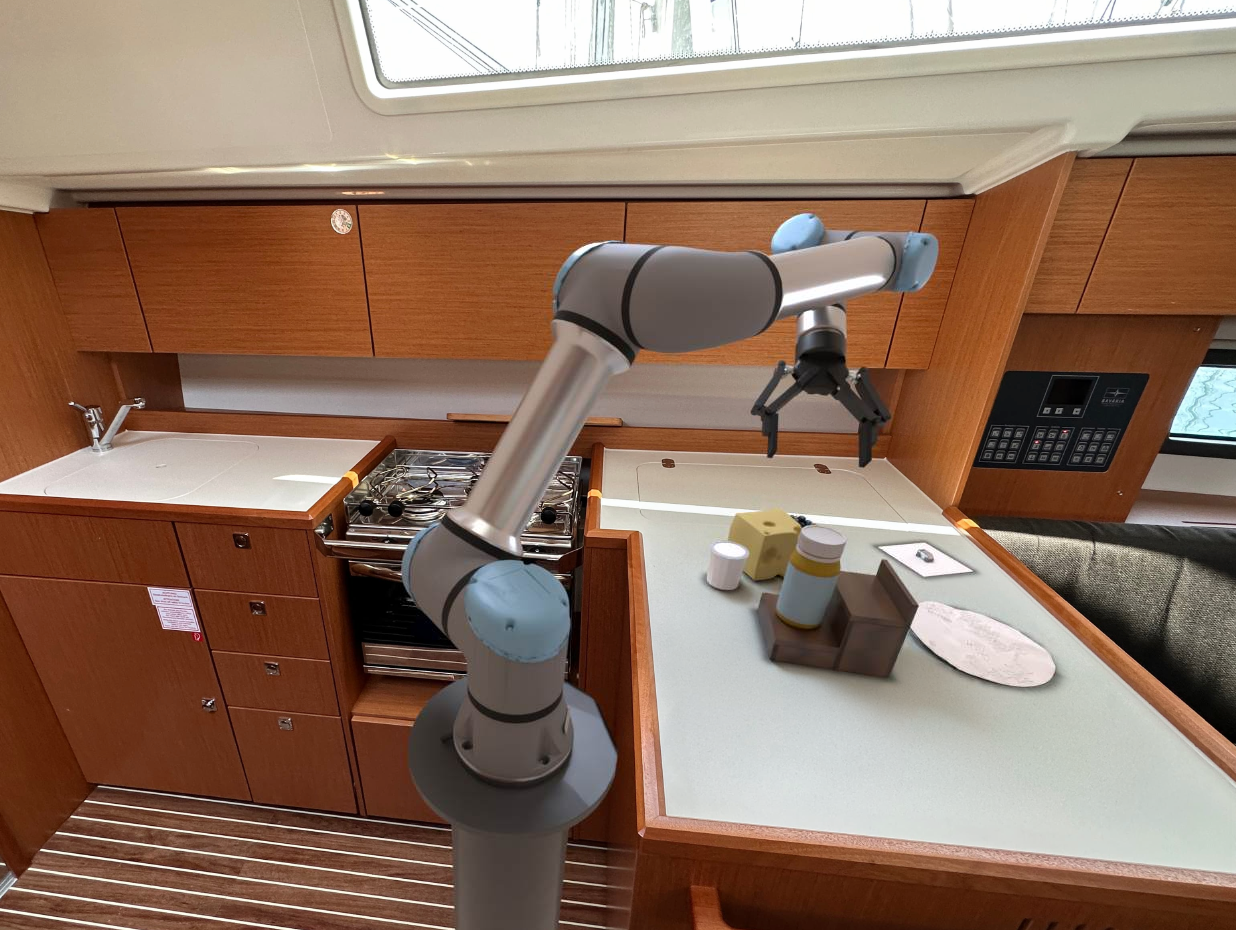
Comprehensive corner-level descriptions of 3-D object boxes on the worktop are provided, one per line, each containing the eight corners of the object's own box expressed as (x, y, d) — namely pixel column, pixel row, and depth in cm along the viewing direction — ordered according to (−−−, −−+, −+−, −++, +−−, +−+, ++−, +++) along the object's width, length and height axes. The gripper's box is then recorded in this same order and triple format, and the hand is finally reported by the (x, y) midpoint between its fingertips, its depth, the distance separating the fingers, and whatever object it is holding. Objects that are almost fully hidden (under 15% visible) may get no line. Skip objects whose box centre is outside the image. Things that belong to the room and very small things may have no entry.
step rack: (769, 659, 89) (790, 588, 83) (757, 611, 101) (774, 545, 95) (889, 677, 87) (919, 605, 81) (862, 626, 98) (887, 559, 92)
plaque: (878, 611, 101) (881, 604, 101) (972, 603, 106) (975, 596, 105) (978, 694, 84) (982, 686, 84) (1086, 680, 88) (1091, 672, 88)
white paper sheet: (923, 576, 113) (926, 570, 113) (877, 546, 124) (880, 540, 123) (973, 571, 116) (976, 564, 115) (924, 542, 126) (927, 536, 126)
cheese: (801, 577, 112) (814, 530, 107) (751, 582, 109) (763, 535, 104) (768, 550, 120) (779, 506, 116) (722, 555, 118) (731, 510, 113)
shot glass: (697, 582, 109) (703, 549, 105) (712, 568, 113) (719, 536, 110) (732, 596, 105) (740, 562, 102) (747, 581, 109) (755, 548, 106)
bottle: (777, 600, 97) (800, 520, 90) (823, 613, 94) (850, 531, 87) (772, 622, 91) (795, 538, 84) (820, 636, 88) (849, 550, 82)
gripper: (890, 362, 98) (893, 477, 92) (736, 350, 102) (729, 460, 95) (913, 334, 91) (918, 457, 84) (747, 322, 95) (739, 439, 88)
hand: (818, 459), depth 90 cm, fingers open, 13 cm apart
